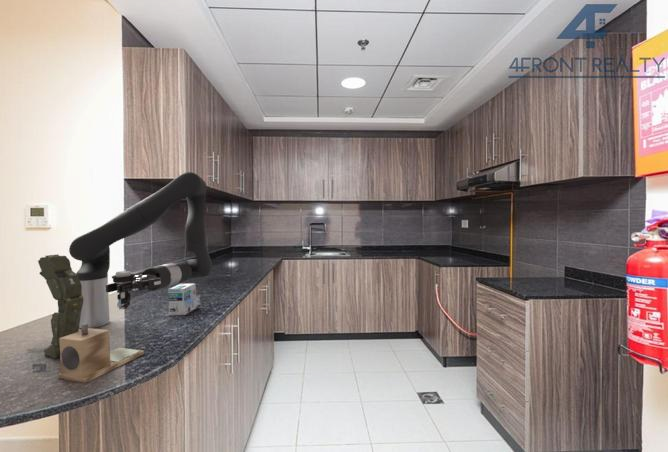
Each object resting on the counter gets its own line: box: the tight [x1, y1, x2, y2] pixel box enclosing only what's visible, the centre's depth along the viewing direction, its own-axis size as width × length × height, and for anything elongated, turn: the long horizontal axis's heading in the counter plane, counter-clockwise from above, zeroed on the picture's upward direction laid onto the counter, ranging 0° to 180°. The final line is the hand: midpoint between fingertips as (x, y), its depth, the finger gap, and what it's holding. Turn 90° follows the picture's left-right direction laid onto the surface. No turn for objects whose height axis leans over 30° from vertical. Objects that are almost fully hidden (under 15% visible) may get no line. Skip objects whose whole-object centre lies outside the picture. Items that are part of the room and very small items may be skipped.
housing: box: [57, 324, 145, 384], centre depth 83 cm, size 16×9×12 cm, turn 164°
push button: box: [111, 270, 135, 310], centre depth 88 cm, size 7×5×10 cm
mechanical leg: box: [37, 254, 84, 360], centre depth 91 cm, size 14×7×30 cm, turn 71°
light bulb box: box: [167, 283, 197, 316], centre depth 130 cm, size 11×7×11 cm, turn 179°
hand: (112, 288), depth 85 cm, fingers closed on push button, 3 cm apart
